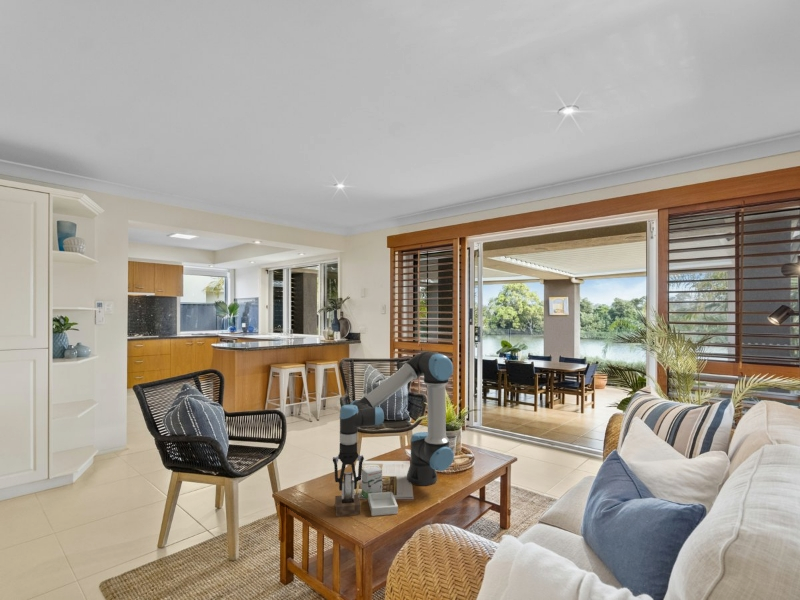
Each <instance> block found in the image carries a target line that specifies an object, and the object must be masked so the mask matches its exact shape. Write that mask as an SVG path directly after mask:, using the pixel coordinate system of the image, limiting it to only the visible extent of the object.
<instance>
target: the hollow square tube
mask: <svg viewBox="0 0 800 600" xmlns="http://www.w3.org/2000/svg"><path fill="white" fill-rule="evenodd" d="M334 501H335V505H334V506H335V516H336V517H345V516H346V517H347V516H358V515H359V516H360V515H361V511H362V510H361V506H362V505H361V500H360V497H359V494H356V493H354V498H352V503H344V499H342V495H335V499H334Z"/></svg>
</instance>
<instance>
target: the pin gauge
mask: <svg viewBox="0 0 800 600" xmlns="http://www.w3.org/2000/svg"><path fill="white" fill-rule="evenodd" d="M352 480H353V472H351V471H345V472H344V476H343V481H344V503H352Z"/></svg>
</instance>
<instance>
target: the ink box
mask: <svg viewBox="0 0 800 600" xmlns="http://www.w3.org/2000/svg"><path fill="white" fill-rule="evenodd" d="M382 492H383V469H382V468H381V467H380V466H379V465H375V466H371V467H366V468H365V467H364V468H362V476H361V494H362V495H363V498H365V499H367V500H368V494H369V493H382ZM362 495H361V496H362Z"/></svg>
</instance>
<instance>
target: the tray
mask: <svg viewBox="0 0 800 600" xmlns="http://www.w3.org/2000/svg"><path fill="white" fill-rule="evenodd" d="M367 504H368V507H369V510H370V513H371V517H373V516H383V515H384V516H387V515H398V514H399V505H398V503H397V500H396V498H395V495H394V493H393V491H385V492H384V491H382V493H369V494H368V498H367Z"/></svg>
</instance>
